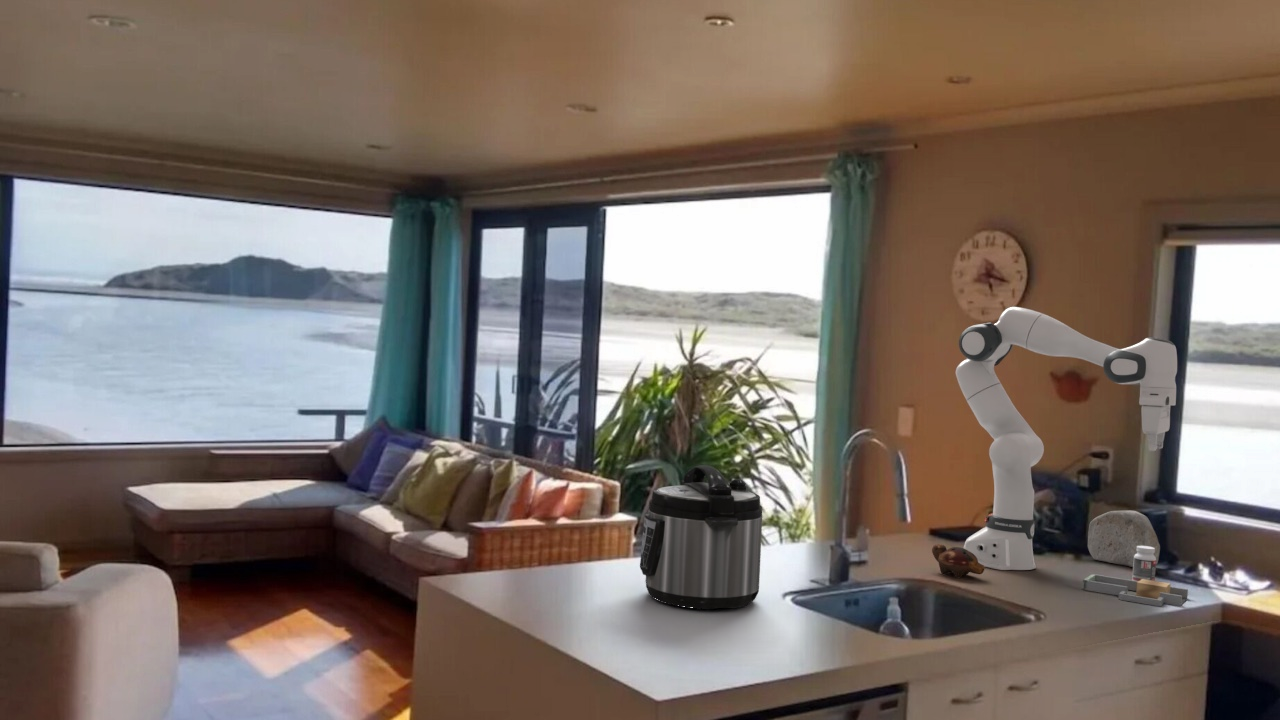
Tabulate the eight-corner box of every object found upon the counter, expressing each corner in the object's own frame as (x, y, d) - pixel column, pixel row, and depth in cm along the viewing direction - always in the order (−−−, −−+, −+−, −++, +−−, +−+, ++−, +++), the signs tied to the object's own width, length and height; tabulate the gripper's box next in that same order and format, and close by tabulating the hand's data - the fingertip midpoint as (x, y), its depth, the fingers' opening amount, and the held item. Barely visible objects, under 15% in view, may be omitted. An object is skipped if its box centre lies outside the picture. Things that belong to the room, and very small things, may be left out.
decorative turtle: (934, 568, 321) (938, 540, 321) (987, 580, 313) (992, 552, 312) (922, 571, 313) (926, 542, 313) (976, 584, 305) (981, 555, 304)
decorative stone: (1162, 569, 339) (1148, 573, 332) (1097, 555, 353) (1083, 559, 346) (1167, 513, 338) (1153, 516, 331) (1101, 502, 352) (1087, 505, 345)
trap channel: (1078, 592, 300) (1078, 583, 299) (1091, 582, 313) (1092, 573, 313) (1177, 609, 286) (1178, 599, 286) (1187, 598, 299) (1188, 589, 299)
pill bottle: (1156, 585, 314) (1159, 550, 313) (1134, 583, 315) (1137, 548, 314) (1151, 581, 319) (1154, 546, 319) (1130, 579, 320) (1132, 544, 320)
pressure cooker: (665, 578, 289) (672, 454, 288) (772, 594, 279) (780, 465, 278) (619, 603, 261) (627, 466, 260) (737, 621, 251) (745, 478, 250)
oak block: (1136, 597, 298) (1137, 582, 298) (1140, 593, 303) (1142, 578, 303) (1164, 602, 294) (1166, 587, 294) (1169, 598, 299) (1170, 583, 299)
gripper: (1151, 396, 315) (1149, 446, 316) (1138, 398, 298) (1135, 451, 298) (1176, 397, 312) (1174, 448, 312) (1164, 399, 295) (1162, 453, 295)
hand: (1155, 449), depth 305 cm, fingers open, 8 cm apart
